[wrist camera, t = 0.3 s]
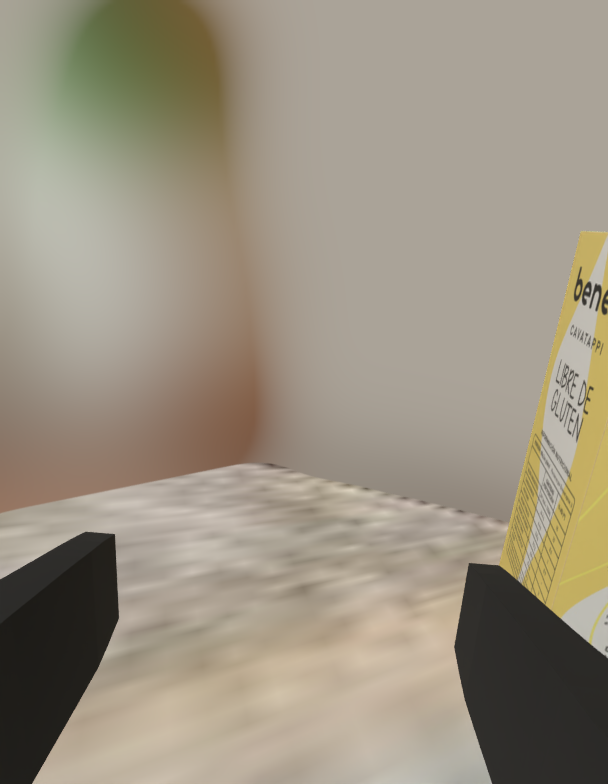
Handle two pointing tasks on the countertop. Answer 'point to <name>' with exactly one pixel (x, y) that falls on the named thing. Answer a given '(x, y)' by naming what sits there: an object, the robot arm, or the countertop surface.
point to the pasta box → (570, 461)
